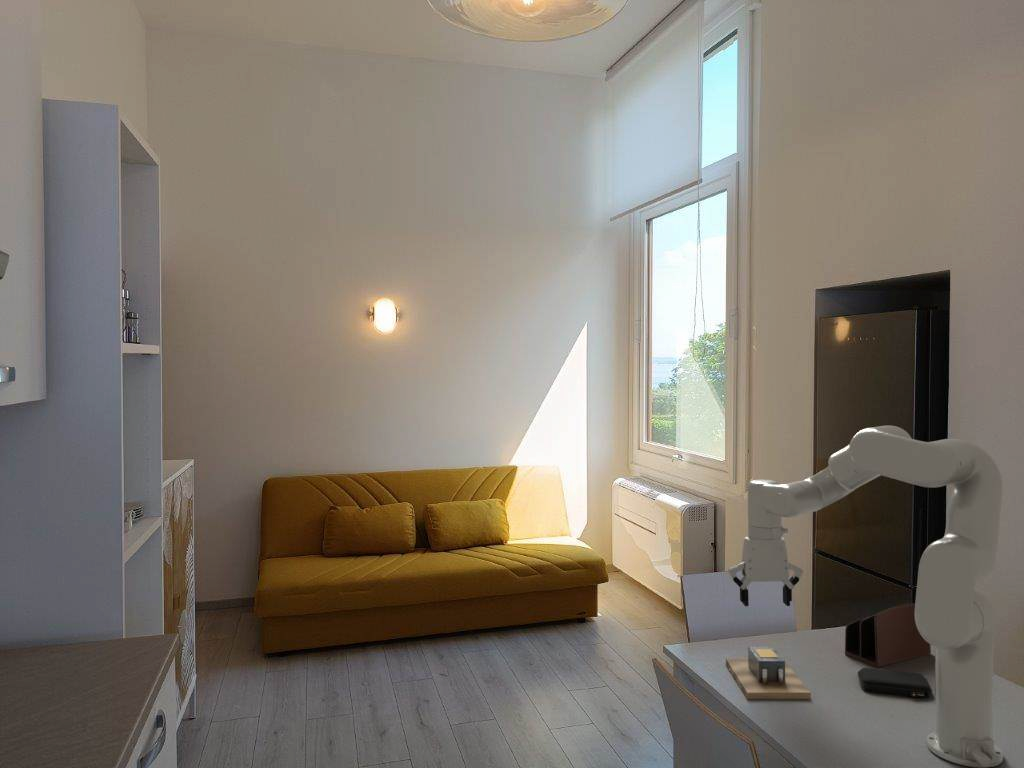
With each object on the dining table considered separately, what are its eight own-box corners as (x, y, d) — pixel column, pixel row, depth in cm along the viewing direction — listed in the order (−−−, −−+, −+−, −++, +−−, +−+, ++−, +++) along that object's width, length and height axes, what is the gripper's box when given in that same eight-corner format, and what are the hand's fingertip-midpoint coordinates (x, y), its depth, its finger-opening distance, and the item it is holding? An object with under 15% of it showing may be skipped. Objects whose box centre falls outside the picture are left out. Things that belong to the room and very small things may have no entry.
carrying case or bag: (861, 695, 171) (935, 703, 166) (861, 682, 171) (935, 690, 166) (856, 677, 181) (925, 684, 176) (856, 664, 181) (925, 671, 176)
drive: (748, 667, 183) (748, 646, 183) (773, 667, 183) (773, 646, 183) (759, 682, 174) (758, 660, 174) (785, 682, 174) (785, 660, 174)
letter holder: (931, 654, 194) (931, 600, 193) (877, 668, 185) (877, 611, 185) (896, 642, 203) (896, 590, 202) (844, 655, 194) (843, 600, 194)
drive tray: (810, 699, 169) (810, 677, 169) (747, 699, 169) (747, 677, 169) (782, 664, 189) (782, 644, 188) (725, 664, 189) (725, 644, 189)
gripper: (796, 528, 182) (797, 599, 182) (724, 529, 182) (725, 600, 183) (807, 535, 174) (808, 609, 174) (731, 536, 175) (733, 609, 175)
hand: (765, 604), depth 178 cm, fingers open, 9 cm apart
